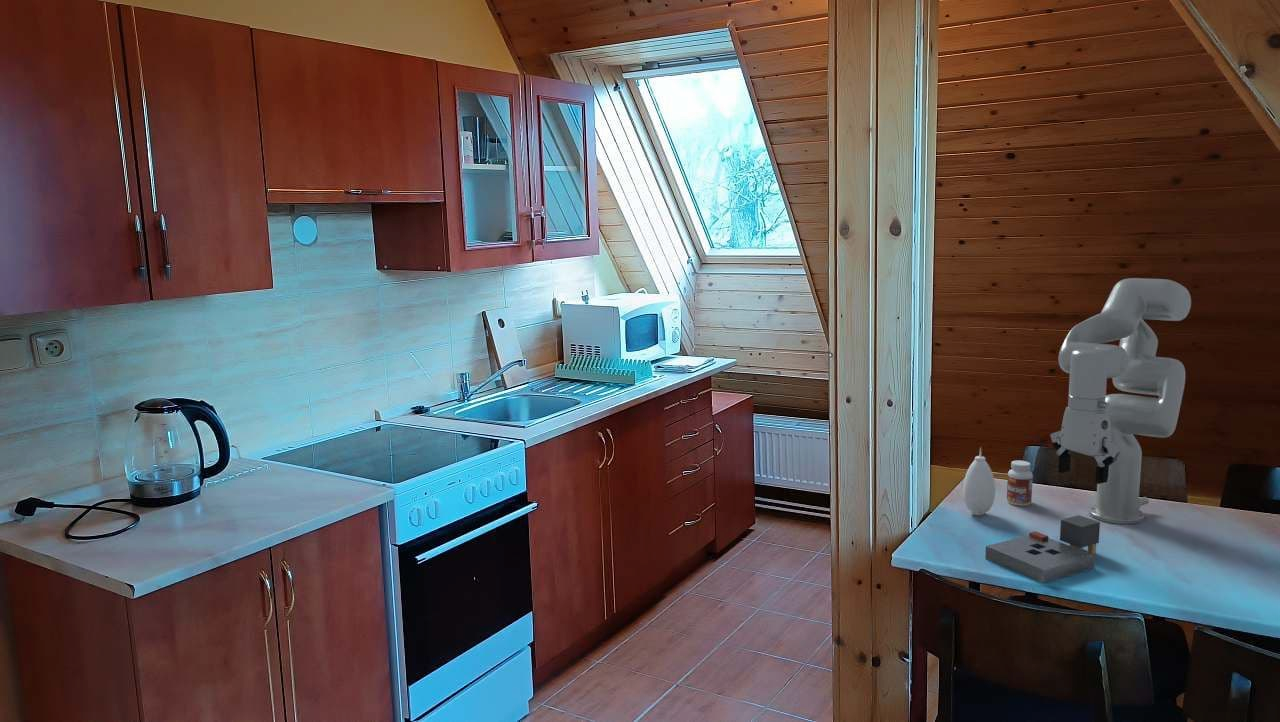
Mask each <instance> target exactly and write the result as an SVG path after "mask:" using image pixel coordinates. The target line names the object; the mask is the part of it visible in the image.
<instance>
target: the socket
mask: <svg viewBox="0 0 1280 722" xmlns="http://www.w3.org/2000/svg"><path fill="white" fill-rule="evenodd" d="M984 555H985V559H986V560H988V561H990V562H993V563H995V564H997V565H1000V566H1002V567H1004V568H1007V569H1009V570H1011V571H1014V572H1016V573H1018V574H1021V575H1023V576H1026V577H1028V578H1030V579H1033V580H1034V581H1037V582H1039V583H1042V584H1047V583H1050V582H1053V581H1057V580H1060V579H1063V578H1067V577H1070V576H1072V575H1077V574H1080V573H1084V572H1087V571H1090V570H1093V569H1095V568H1096V567H1095V566H1096V565H1095V564H1096V554H1091V553H1088V551H1086V550H1082V549H1081V548H1079V549H1077V548H1074V547H1072V546H1070V544H1069V545H1068V544H1067V543H1065V542H1062V541H1061V542H1060V541H1058V540H1055V539H1052V538H1050V537H1049V535H1047V534H1044V533H1041V532H1039V531H1036V530H1034V531H1032V532H1029V534H1026V535H1023V536H1019V537H1015V538H1014V537H1013V538H1011V539H1008V540H1004V541H1000V542H997V543H993V544H989V545H985V554H984Z"/></svg>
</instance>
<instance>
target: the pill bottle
mask: <svg viewBox="0 0 1280 722" xmlns="http://www.w3.org/2000/svg"><path fill="white" fill-rule="evenodd" d="M1010 468H1011V469H1009V471H1008V472H1007V484H1006V501H1007V503H1008V504H1011V505H1013V506H1020V507H1022V506H1023V507H1025V506H1026V507H1027V506H1029V505H1031V503H1032V498H1033V496H1032V493H1033V480H1034V475H1033V472H1032V471H1031V463H1030V462H1029V461H1027V460H1026V461H1025V460H1019V459H1018V460H1013V461H1011V465H1010Z"/></svg>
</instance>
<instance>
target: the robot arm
mask: <svg viewBox="0 0 1280 722" xmlns="http://www.w3.org/2000/svg"><path fill="white" fill-rule="evenodd" d="M1191 307H1192V297H1191V294H1190V292H1189V290H1188V289H1187V288H1186V286H1184V285H1182V284H1180V283H1179V282H1176V281H1174V280H1171V279H1165V278H1164V279H1162V278H1140V277H1139V278H1138V277H1134V278H1133V277H1130V278H1124V279H1121V280H1119V281H1118V282H1117V283H1116V284H1115V285H1114V286H1113V288H1112V290H1111V291H1110V293H1109V296H1108V298H1107V300H1106V302H1105V304H1104V306H1103V308H1102V309H1101V312H1100V313H1098V314H1095V315H1093V316H1091V317H1089V318H1087V319H1085V320H1083V321H1081V322H1079V323H1077V324H1075V326H1073V327H1072V328H1071V329H1070V330H1069V332H1068V334H1067V335H1066V337H1065V339H1064V341H1063V342H1062V345H1061V346H1060V350H1059V352H1058V364H1059V367H1060V369H1061V370H1062V371H1063V372H1065V373H1067V374H1069V381H1068V384H1069V385H1068V402H1067V406H1066V407H1065V410H1064V413H1063V419H1062V423H1061V429H1060V430H1058V431H1055V432H1053V433H1050V436H1049V437H1050V438H1051V439H1050V440H1051V441H1052V446H1053V448H1054V449H1055V450H1056V453H1055V454H1056V455H1057V456H1058V464H1057V465H1058V469H1057V471H1058V473H1060V474H1063V473H1069V472H1070V471H1071V462H1072V454H1070V453H1071V452H1074V453H1077V454H1081V455H1085V456H1089V457H1092V458H1094V459H1095V461H1096V463H1097V464H1098V465H1097V466H1096V468H1095V481H1094V482H1095V484H1097V485H1096V502H1095V504H1093V505H1092V506H1089V509H1088V513H1089V515H1090V516H1091V517H1093V518H1095V519H1096V520H1099V521H1102V522H1107V523H1109V524H1110V523H1113V524H1121V525H1134V524H1140V523H1142V522H1144V520H1145V518H1146V517H1145V516H1146V515H1145V513H1144V512H1143V511H1141V510H1140V508H1141V506H1144V505H1148V504H1149V501H1150V500H1149V498H1148V497H1146V496H1143V497H1140V487H1141V486H1140V484H1141V473H1142V472H1141V470H1142V455H1143V452H1142V447H1141V445H1140V443H1139V441H1138V439H1137V438H1136V437H1135V436H1134V435H1140V436H1145V437H1153V438H1155V437H1156V438H1168V437H1171V436H1172V435H1173V434H1174V432H1175V430H1176V427H1177V424H1178V419H1179V414H1180V409H1181V405H1182V401H1183V397H1184V396H1183V395H1184V391H1185V385H1186V369H1185V366H1184V363H1182V362H1181V361H1180V360H1178V359H1176V358H1172V357H1161V356H1156V354H1157V350H1158V346H1159V340H1158V337H1157V335H1156V333H1155V332H1154V331H1153V329H1152V328H1151V327H1150V325H1148V324H1147V322H1145V320H1152V321H1156V320H1158V321H1168V322H1169V321H1171V322H1179V321H1182V320H1184V319H1186V318H1187V316H1188V314H1189V313H1190V310H1191ZM1114 341H1119V345H1115V344H1110V342H1114ZM1108 343H1109V344H1108ZM1108 379H1112V384H1113V386H1114V388H1116V389H1117V390H1119V391H1122V392H1126V393H1111V394H1107V381H1108ZM1127 392H1128V393H1133V394H1128V393H1127ZM1135 394H1143V395H1151V396H1142V395H1135ZM1152 396H1158V397H1152Z"/></svg>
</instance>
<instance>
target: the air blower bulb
mask: <svg viewBox="0 0 1280 722" xmlns="http://www.w3.org/2000/svg"><path fill="white" fill-rule="evenodd" d="M962 485H963V486H962V495H963V500H964V504H965V506H966V508H967V510H968V511H970V513H971V514H973V515H975V516H978V517H979V516H982V515H985V514H986V513H988V512H990V509H991V508H992V507H993V505H994V502H995V498H996V484H995V479H994V474H993V471H992V469H991V467H990V465H989V464H988V462H987V460H986V457H985V456H983V455H982V446H981V447H979V455H977V456H975V457H974V459H973V461H972V463H970V465H969V467H968V469H967V471H966V473H965V476H964V481H963V484H962Z"/></svg>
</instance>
